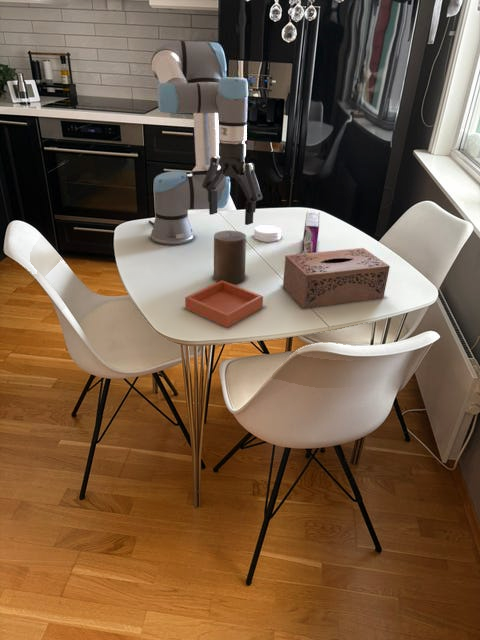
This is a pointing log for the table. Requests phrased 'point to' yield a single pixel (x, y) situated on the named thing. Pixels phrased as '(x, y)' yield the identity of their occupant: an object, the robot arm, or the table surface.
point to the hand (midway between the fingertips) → (230, 218)
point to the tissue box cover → (334, 277)
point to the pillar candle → (229, 256)
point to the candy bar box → (310, 233)
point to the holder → (224, 303)
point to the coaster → (267, 233)
